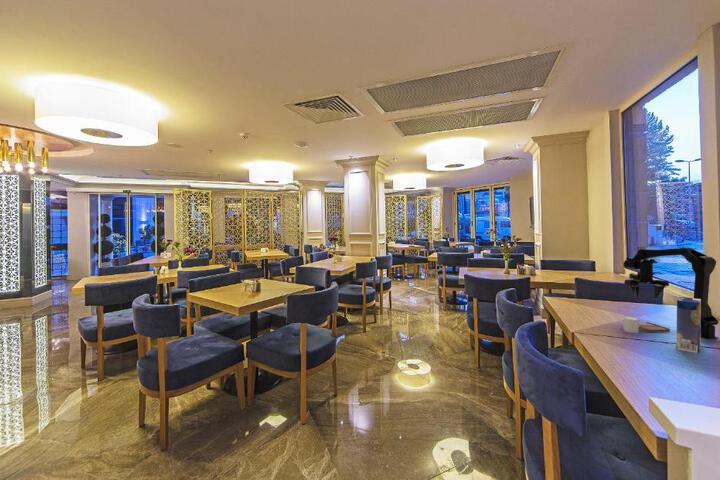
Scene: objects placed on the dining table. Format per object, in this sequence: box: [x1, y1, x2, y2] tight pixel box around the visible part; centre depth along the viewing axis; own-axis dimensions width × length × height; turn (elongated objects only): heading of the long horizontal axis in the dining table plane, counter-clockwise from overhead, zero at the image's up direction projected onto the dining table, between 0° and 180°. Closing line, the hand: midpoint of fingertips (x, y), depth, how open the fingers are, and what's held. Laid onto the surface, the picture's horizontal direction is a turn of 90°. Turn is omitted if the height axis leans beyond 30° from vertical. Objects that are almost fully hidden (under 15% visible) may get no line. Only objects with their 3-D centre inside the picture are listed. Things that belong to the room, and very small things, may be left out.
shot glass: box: [622, 316, 641, 334], centre depth 160 cm, size 7×7×7 cm
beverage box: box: [675, 296, 702, 354], centre depth 137 cm, size 7×11×22 cm, turn 130°
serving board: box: [638, 321, 671, 333], centre depth 163 cm, size 12×12×2 cm
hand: (646, 297), depth 174 cm, fingers open, 9 cm apart
